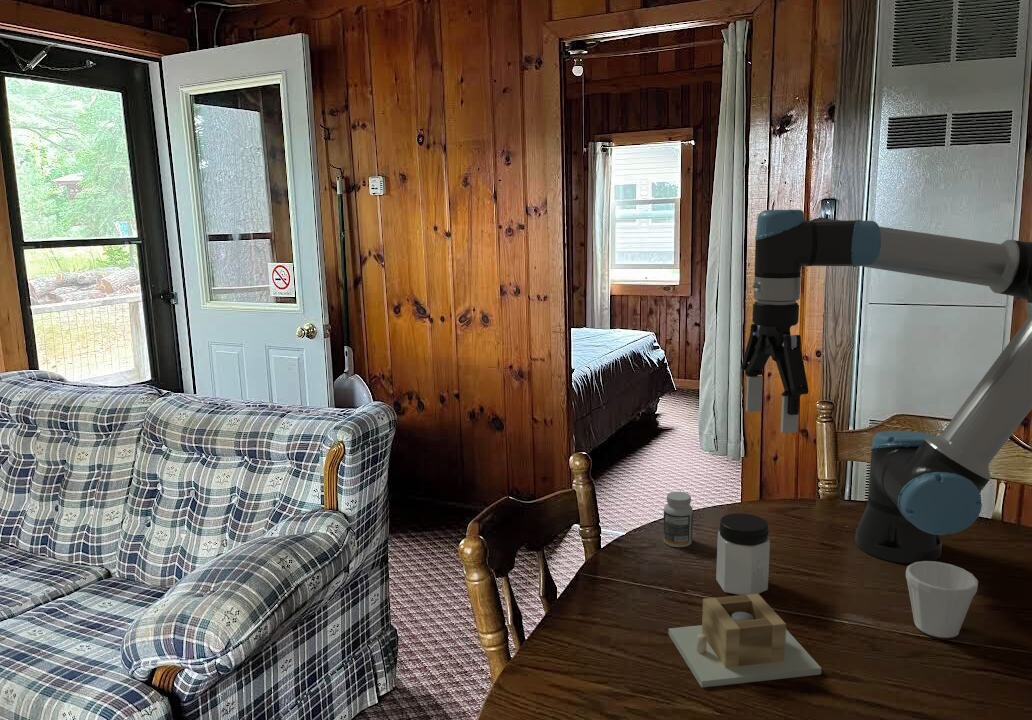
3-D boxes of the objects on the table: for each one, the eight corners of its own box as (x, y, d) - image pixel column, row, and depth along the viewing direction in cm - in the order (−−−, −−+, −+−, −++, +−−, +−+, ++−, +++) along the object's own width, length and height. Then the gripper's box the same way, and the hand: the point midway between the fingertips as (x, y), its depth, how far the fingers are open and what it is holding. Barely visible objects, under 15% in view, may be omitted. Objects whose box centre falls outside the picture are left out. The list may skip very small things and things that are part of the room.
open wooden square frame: (701, 634, 122) (702, 598, 120) (756, 628, 123) (758, 593, 122) (725, 667, 113) (726, 629, 112) (783, 661, 114) (785, 623, 113)
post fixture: (775, 623, 126) (777, 589, 125) (821, 674, 112) (823, 636, 111) (668, 634, 124) (669, 599, 122) (701, 687, 110) (702, 649, 109)
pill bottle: (670, 534, 160) (671, 488, 158) (696, 540, 157) (698, 494, 155) (658, 544, 156) (659, 497, 154) (685, 551, 153) (686, 503, 151)
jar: (742, 602, 133) (745, 536, 130) (706, 583, 140) (708, 520, 137) (777, 587, 138) (780, 523, 135) (740, 569, 144) (743, 508, 142)
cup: (887, 621, 126) (891, 568, 124) (931, 607, 130) (936, 555, 128) (942, 653, 117) (947, 596, 115) (987, 637, 121) (993, 582, 119)
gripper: (725, 293, 145) (721, 404, 149) (790, 312, 121) (784, 443, 125) (763, 292, 146) (759, 402, 150) (836, 310, 122) (827, 440, 126)
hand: (770, 421), depth 138 cm, fingers open, 13 cm apart
